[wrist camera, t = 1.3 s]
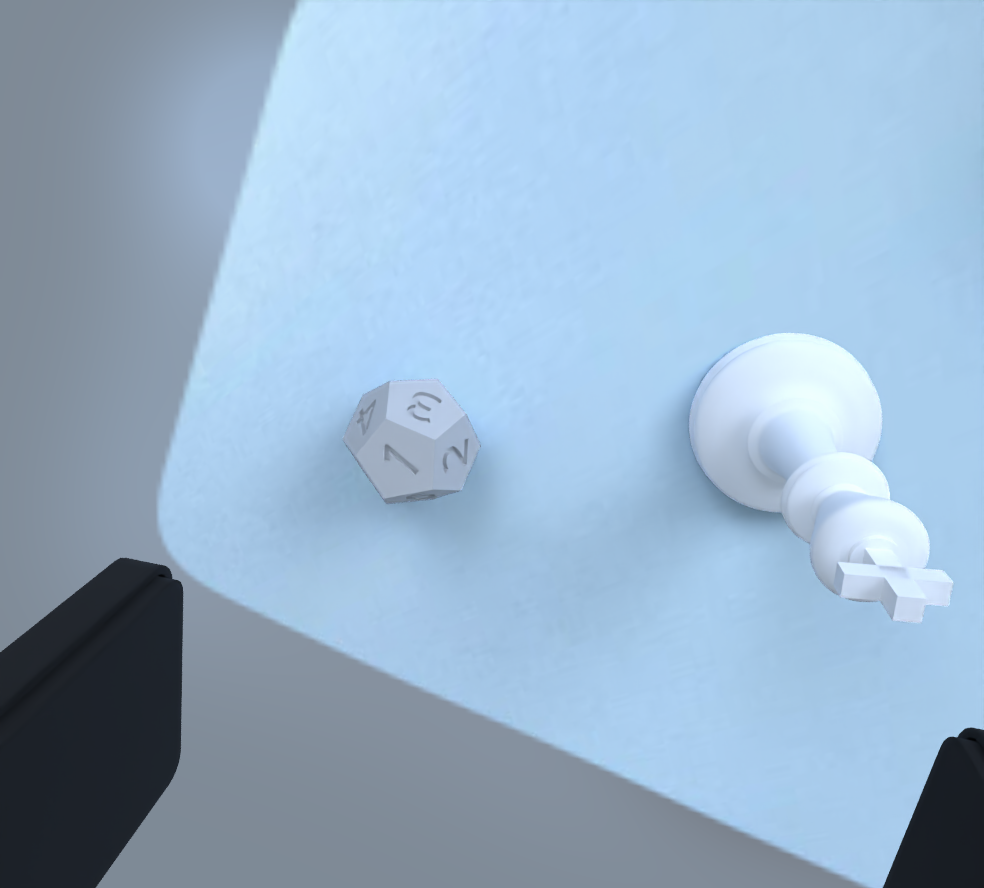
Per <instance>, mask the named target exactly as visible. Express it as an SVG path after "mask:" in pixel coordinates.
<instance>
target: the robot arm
mask: <svg viewBox="0 0 984 888" xmlns="http://www.w3.org/2000/svg"><path fill="white" fill-rule="evenodd" d="M182 635H183V587H182V584H181V582H180V581H178V580H174V579H172V574H171V571H170V569H169V568H168V567H166V566H163V565H158V564H153V563H148V562H143V561H138V560H133V559H129V558H120V559H118V560H116V561H114V562H113V563H112V564H111V565H109V566H108V567H107V568H106V569H104V570H103V571H102V572H101V573H99V574H98V575H97V576H96V577H94V578H93V579H92V580H91V581H89V582H88V583H87V584H86V585H84V586H83V587H82V588H81V589H79V590H78V591H77V592H76V593H75V594H73V595H72V596H71V597H69V598H68V599H67V600H66V601H64V602H63V603H62V604H60V605H59V606H58V607H57V608H55V609H54V610H53V611H52V612H50V613H49V614H48V615H47V616H46V617H44V618H43V619H42V620H40V621H39V622H38V623H37V624H35V625H34V626H33V627H32V628H31V629H29V630H28V631H27V632H26V633H24V634H23V635H22V636H20V637H19V638H18V639H17V640H15V642H13V643H12V644H10V645H9V646H8V647H7V648H5V649H4V650H3V651H2V652H0V888H96V886H97V885H98V884H99V882H100V881H101V879H102V878H103V877H104V875H105V874H106V872H107V871H108V869H109V868H110V867H111V865H112V864H113V862H114V861H115V860H116V858H117V857H118V855H119V854H120V853H121V851H122V850H123V848H124V847H125V846H126V844H127V843H128V841H129V840H130V839H131V837H132V836H133V834H134V833H135V832H136V830H137V829H138V827H139V826H140V825H141V823H142V822H143V820H144V819H145V818H146V816H147V815H148V813H149V812H150V810H151V809H152V808H153V806H154V805H155V803H156V802H157V800H158V799H159V798H160V796H161V795H162V794H163V792H164V791H165V789H166V788H167V787H168V785H169V784H170V782H171V780H172V778H173V776H174V774H175V772H176V769H177V766H178V763H179V759H180V752H181V698H182ZM883 888H984V730H981V729H976V728H967V729H964V730H963V731H962V732H961V733H960V734H959V736H958V737H948V738H947V739H946V740H945V741H944V742H943V744H942V745H941V747H940V750H939V752H938V755H937V757H936V759H935V762H934V764H933V767H932V769H931V772H930V774H929V777H928V779H927V781H926V784H925V786H924V789H923V791H922V794H921V796H920V799H919V801H918V803H917V806H916V808H915V811H914V813H913V816H912V818H911V821H910V823H909V825H908V828H907V830H906V833H905V835H904V838H903V840H902V843H901V845H900V847H899V850H898V852H897V855H896V857H895V860H894V862H893V865H892V867H891V869H890V872H889V874H888V877H887V879H886V882H885V884H884V887H883Z"/></svg>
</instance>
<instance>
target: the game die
mask: <svg viewBox="0 0 984 888" xmlns="http://www.w3.org/2000/svg"><path fill="white" fill-rule="evenodd" d="M342 440H343V441H344V443H345V444H346V446H347V447H348V449H349V450H350V452H351V453H352V455H353V456H354V458H355V459H356V461H357V462H358V464H359V466H360V467H361V469H362V470H363V471H364V473H365V474H366V476H367V477H368V479H369V480H370V481H371V483H372V484H373V486H374V487H375V489H376V490H377V491H378V493H379V494H380V496H381V497H382V499H383V500H384V501H385V503H386V504H393V503H403V502H412V501H421V500H431V499H435V498H438V497H442V496H445V495H448V494H452V493H455V492H458V491H461V490H462V488H463V486H464V484H465V481H466V479H467V477H468V475H469V472H470V470H471V468H472V465H473V463H474V461H475V458H476V456H477V454H478V451H479V449H480V447H481V445H480V442H479V440H478V438H477V436H476V434H475V432H474V429H473V427H472V425H471V423H470V421H469V419H468V416H467V414H466V413H465V412H464V410H463V409H462V408H461V407H460V405H459V404H458V403H457V402H456V400H455V399H454V398H453V397H452V395H451V394H450V393H449V392H448V390H447V389H446V388H445V387H444V385H443V384H442V383H441V382H440V380H439V379H420V380H397V381H389V382H387V383H385V384H383V385H381V386H379V387H377V388H375V389H373V390H371V391H369V392H367V393H365V394H364V395H363V396H362V398H361V400H360V402H359V404H358V406H357V408H356V411H355V413H354V415H353V417H352V419H351V421H350V423H349V425H348V428H347V430H346V432H345V434H344V436H343V438H342Z"/></svg>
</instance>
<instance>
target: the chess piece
mask: <svg viewBox="0 0 984 888" xmlns="http://www.w3.org/2000/svg"><path fill="white" fill-rule="evenodd" d="M881 432H882V409H881V404H880V400H879V397H878V394H877V391H876V389H875V387H874V385H873V383H872V381H871V379H870V377H869V375H868V374H867V372H866V371H865V369H864V368H863V366H862V365H861V364H860V363H859V362H858V361H857V360H856V359H855V358H854V357H853V356H852V355H851V354H850V353H849V352H847V351H846V350H845V349H843V348H842V347H840V346H838V345H837V344H835V343H833V342H831V341H828V340H826V339H823V338H820V337H817V336H813V335H808V334H800V333H780V334H773V335H768V336H764V337H760V338H757V339H754V340H751V341H749V342H747V343H744V344H742V345H741V346H739V347H737V348H735V349H734V350H732V351H731V352H729V353H728V354H726V355H725V356H724V357H723V358H721V359H720V360H719V361H718V362H717V363H716V364H715V365H714V366H713V367H712V368H711V370H710V371H709V372H708V373H707V375H706V376H705V377H704V379H703V380H702V382H701V384H700V386H699V387H698V389H697V392H696V394H695V396H694V399H693V402H692V406H691V410H690V416H689V436H690V442H691V446H692V449H693V452H694V455H695V457H696V460H697V462H698V464H699V465H700V467H701V469H702V470H703V471H704V473H705V474H706V475H707V477H708V478H709V479H710V480H711V481H712V482H713V484H714V485H715V486H716V487H717V488H718V489H719V490H721V491H722V492H723V493H724V494H725V495H727V496H728V497H730V498H731V499H733V500H735V501H736V502H738V503H740V504H743V505H745V506H747V507H750V508H753V509H757V510H761V511H767V512H776V513H782V514H783V517H784V520H785V522H786V524H787V525H788V527H789V528H790V529H791V531H792V532H793V533H794V534H795V535H796V536H798V537H799V538H800V539H802V540H803V541H805V542H807V543H809V544H810V558H811V563H812V567H813V569H814V572H815V574H816V575H817V577H818V579H819V580H820V581H821V582H822V584H823V585H824V586H825V587H827V588H828V589H829V590H830V591H832V592H833V593H835V594H837V595H839V596H840V598H846V599H849V600H853V601H859V602H874V601H880V602H881V603H882V605H883V606H884V608H885V610H886V611H887V613H888V614H889V616H890V618H891V619H892V621H902V622H913V623H922V620H923V615H924V611H925V606H926V605H937V606H949V602H950V597H951V593H952V588H953V584H954V582H953V581H952V580H951V579H950V577H949V576H948V575H947V574H946V573H945V572H944V570H935V569H925V567H926V564H927V562H928V558H929V552H930V544H929V538H928V534H927V531H926V529H925V527H924V525H923V524H922V522H921V521H920V519H919V518H918V517H917V516H916V515H915V514H914V513H913V512H912V511H910V510H909V509H908V508H906V507H904V506H903V505H901V504H899V503H897V502H894V501H891V500H890V491H889V486H888V483H887V480H886V478H885V476H884V475H883V473H882V472H881V470H880V469H879V468H878V467H877V466H876V465H875V464H873V463H872V462H871V461H872V460H873V458H874V456H875V453H876V451H877V448H878V445H879V442H880V438H881Z"/></svg>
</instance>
